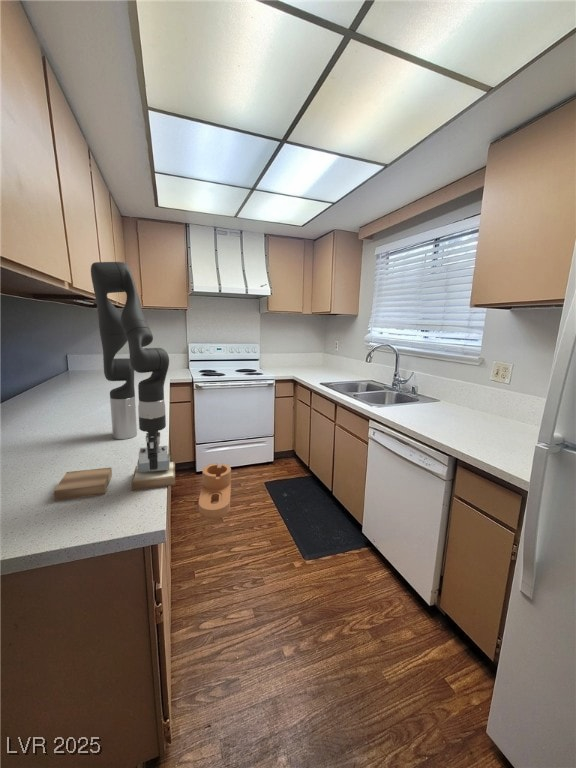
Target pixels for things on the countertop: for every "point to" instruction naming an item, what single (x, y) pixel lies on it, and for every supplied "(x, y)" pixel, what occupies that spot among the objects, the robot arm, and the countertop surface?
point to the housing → (162, 460)
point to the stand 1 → (83, 483)
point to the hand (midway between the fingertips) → (154, 464)
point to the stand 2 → (153, 478)
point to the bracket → (215, 491)
